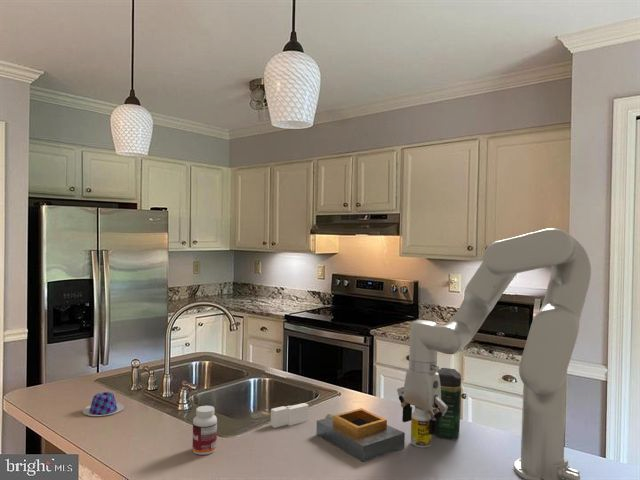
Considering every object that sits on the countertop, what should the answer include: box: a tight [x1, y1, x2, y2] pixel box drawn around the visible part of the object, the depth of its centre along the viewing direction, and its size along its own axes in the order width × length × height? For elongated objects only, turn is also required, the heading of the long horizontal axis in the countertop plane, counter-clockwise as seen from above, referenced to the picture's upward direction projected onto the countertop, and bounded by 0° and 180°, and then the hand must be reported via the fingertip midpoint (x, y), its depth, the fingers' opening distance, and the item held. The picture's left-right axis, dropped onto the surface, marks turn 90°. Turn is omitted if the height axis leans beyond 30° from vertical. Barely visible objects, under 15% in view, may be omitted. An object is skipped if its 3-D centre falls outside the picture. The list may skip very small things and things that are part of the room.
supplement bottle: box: [410, 406, 432, 449], centre depth 133 cm, size 6×6×10 cm
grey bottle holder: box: [315, 407, 406, 463], centre depth 135 cm, size 24×15×6 cm, turn 37°
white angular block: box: [270, 402, 310, 429], centre depth 145 cm, size 15×11×6 cm
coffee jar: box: [433, 367, 462, 440], centre depth 141 cm, size 10×8×19 cm
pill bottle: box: [191, 405, 218, 456], centre depth 125 cm, size 6×6×11 cm
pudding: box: [82, 391, 125, 417], centre depth 152 cm, size 12×12×5 cm
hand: (419, 427), depth 133 cm, fingers open, 9 cm apart
